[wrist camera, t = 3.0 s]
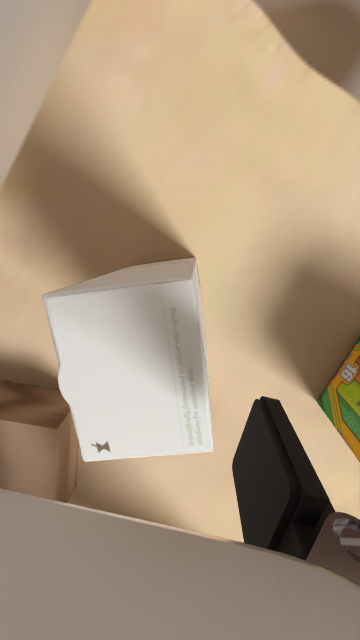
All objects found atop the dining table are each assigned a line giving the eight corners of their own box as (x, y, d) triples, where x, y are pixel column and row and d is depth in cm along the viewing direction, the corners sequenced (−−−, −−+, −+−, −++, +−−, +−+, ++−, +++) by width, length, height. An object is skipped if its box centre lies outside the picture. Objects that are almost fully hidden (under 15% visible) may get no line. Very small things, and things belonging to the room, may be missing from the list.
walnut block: (83, 392, 30) (57, 429, 25) (76, 482, 34) (52, 533, 28) (-30, 374, 30) (-82, 406, 25) (-25, 466, 34) (-70, 513, 28)
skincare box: (206, 341, 28) (221, 461, 13) (139, 348, 28) (79, 471, 14) (196, 252, 26) (200, 275, 11) (123, 262, 26) (31, 296, 11)
